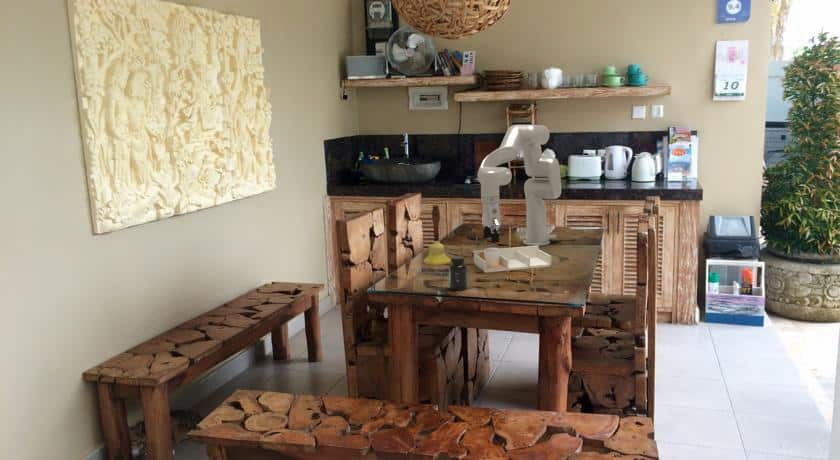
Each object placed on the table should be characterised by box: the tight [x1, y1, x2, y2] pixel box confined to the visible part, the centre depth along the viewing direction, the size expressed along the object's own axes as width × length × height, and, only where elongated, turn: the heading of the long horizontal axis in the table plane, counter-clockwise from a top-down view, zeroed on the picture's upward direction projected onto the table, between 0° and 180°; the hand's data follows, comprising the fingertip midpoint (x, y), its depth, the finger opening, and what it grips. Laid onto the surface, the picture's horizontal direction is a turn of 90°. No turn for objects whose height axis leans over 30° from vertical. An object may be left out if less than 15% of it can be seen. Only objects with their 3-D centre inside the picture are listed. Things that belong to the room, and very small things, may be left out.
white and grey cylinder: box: [483, 246, 501, 267], centre depth 299 cm, size 7×7×7 cm
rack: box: [473, 245, 552, 274], centre depth 302 cm, size 29×15×6 cm, turn 103°
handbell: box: [423, 204, 451, 265], centre depth 313 cm, size 12×12×25 cm
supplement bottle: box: [448, 255, 468, 291], centre depth 270 cm, size 7×7×12 cm
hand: (491, 240), depth 299 cm, fingers open, 9 cm apart
